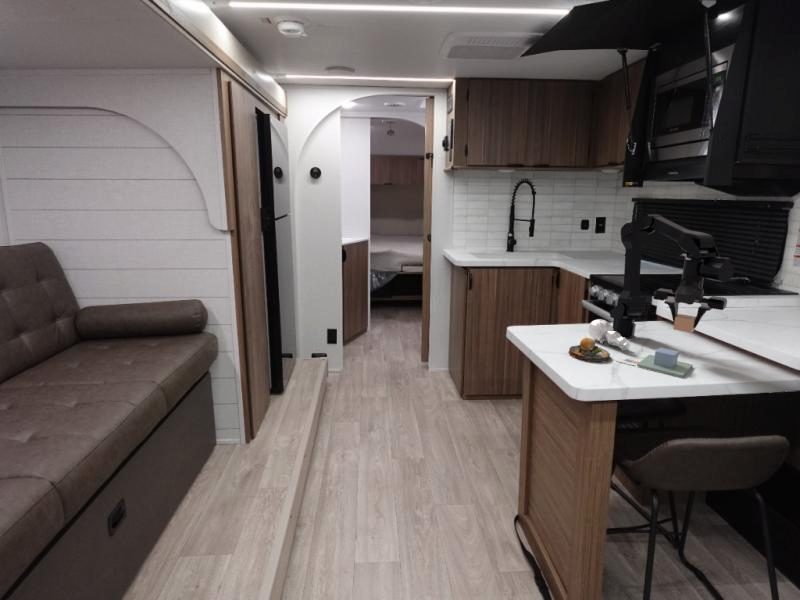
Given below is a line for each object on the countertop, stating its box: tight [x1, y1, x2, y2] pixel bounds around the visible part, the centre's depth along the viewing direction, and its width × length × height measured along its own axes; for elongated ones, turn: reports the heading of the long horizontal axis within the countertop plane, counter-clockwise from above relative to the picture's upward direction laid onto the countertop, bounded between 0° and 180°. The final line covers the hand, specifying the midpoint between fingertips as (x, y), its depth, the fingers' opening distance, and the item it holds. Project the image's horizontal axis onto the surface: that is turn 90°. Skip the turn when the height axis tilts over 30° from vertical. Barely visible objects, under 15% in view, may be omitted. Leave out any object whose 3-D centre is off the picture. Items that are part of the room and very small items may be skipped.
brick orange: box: [673, 313, 696, 333], centre depth 151 cm, size 5×5×4 cm
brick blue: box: [654, 347, 680, 369], centre depth 145 cm, size 5×5×4 cm
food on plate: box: [568, 334, 611, 364], centre depth 153 cm, size 12×12×8 cm
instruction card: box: [616, 356, 644, 369], centre depth 149 cm, size 8×6×1 cm
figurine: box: [587, 318, 631, 351], centre depth 165 cm, size 11×7×15 cm
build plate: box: [637, 354, 694, 379], centre depth 146 cm, size 12×12×1 cm
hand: (684, 326), depth 151 cm, fingers closed on brick orange, 5 cm apart
